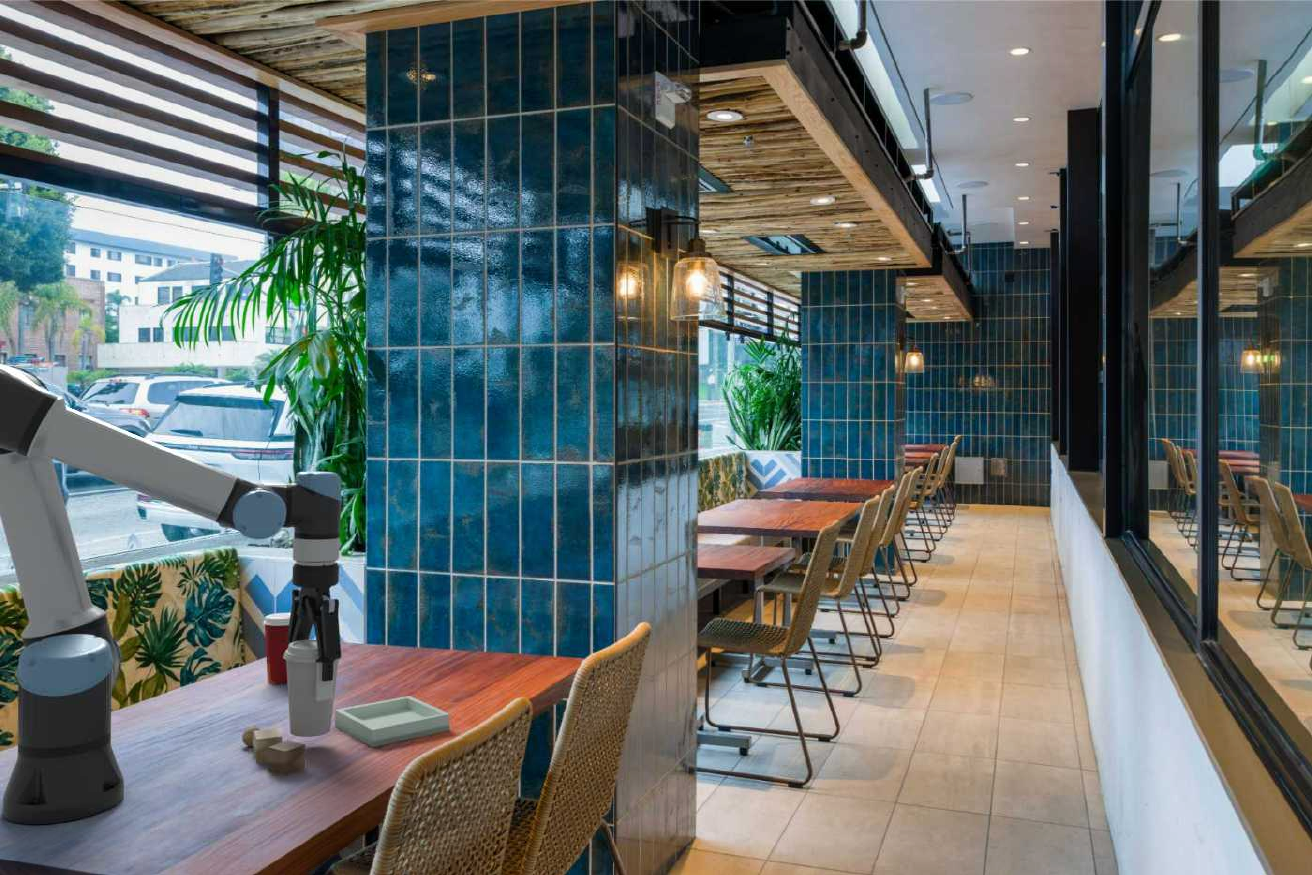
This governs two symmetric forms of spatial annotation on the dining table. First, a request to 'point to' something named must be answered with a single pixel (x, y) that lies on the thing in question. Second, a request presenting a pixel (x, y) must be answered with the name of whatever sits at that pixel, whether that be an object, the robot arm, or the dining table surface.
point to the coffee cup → (306, 690)
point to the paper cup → (276, 646)
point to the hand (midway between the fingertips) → (311, 692)
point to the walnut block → (286, 758)
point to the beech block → (264, 743)
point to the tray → (391, 721)
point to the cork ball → (249, 736)
